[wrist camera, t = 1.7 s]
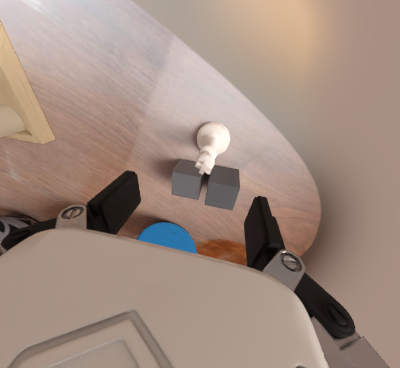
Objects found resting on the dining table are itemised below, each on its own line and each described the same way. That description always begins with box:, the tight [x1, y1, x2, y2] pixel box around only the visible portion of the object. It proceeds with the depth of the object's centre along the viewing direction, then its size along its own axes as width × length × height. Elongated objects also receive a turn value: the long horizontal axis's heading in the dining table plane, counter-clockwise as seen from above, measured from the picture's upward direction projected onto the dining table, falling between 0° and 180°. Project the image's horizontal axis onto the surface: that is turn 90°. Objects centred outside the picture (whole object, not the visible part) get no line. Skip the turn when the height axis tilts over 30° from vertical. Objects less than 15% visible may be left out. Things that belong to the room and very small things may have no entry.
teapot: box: [0, 215, 39, 243], centre depth 45 cm, size 19×31×15 cm, turn 12°
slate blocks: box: [172, 159, 240, 210], centre depth 24 cm, size 4×10×5 cm, turn 84°
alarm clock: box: [136, 222, 197, 254], centre depth 31 cm, size 13×6×15 cm, turn 63°
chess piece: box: [195, 122, 230, 175], centre depth 19 cm, size 5×5×10 cm
